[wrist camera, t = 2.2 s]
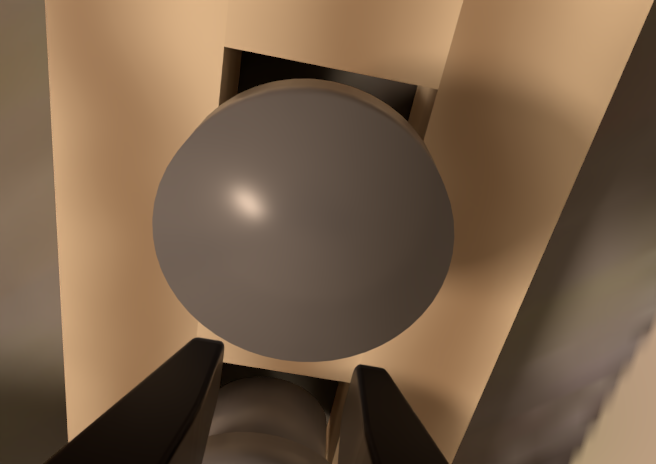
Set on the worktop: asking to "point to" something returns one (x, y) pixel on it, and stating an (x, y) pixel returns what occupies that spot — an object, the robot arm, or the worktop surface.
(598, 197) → the worktop surface
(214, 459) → the knob middle
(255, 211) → the knob
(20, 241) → the worktop surface
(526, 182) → the mount board
